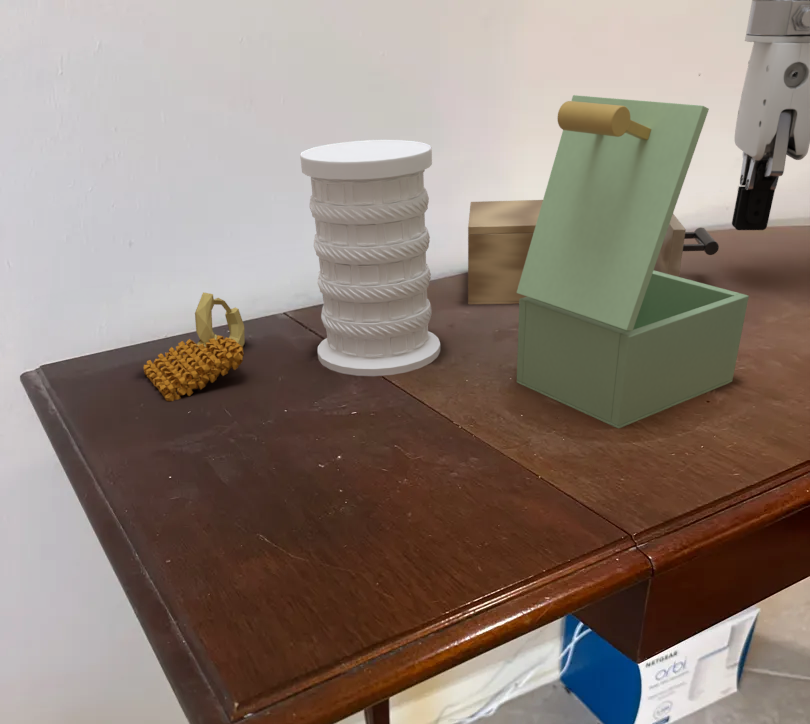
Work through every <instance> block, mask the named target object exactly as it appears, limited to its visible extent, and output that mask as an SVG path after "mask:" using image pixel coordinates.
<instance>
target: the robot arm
mask: <svg viewBox="0 0 810 724" xmlns="http://www.w3.org/2000/svg"><path fill="white" fill-rule="evenodd" d="M744 42H747V43H753V45H752V49H751V52H750V56H749V60H748V63H747V69H746V73H745V78H744V82H743V86H742V91H741V95H740V101H739V105H738V111H737V117H736V122H735V129H734V144H735V146H736V147H737V148H738V149H739V150H741V152H742V164H741V165H742V166H741V170H740V177H739V186H738V189H737V194H736V199H735V204H734V210H733V214H732V220H731V226H732V227H733V228H734V229H735V230H736V231H764V230H766V229H767V228H768V224H769V220H770V214H771V211H772V206H773V201H774V196H775V191H776V188H777V186H778V183H779V178H780V177H782V176H784V173H785V167H786V160H787V156H788V157H789V158H791V159H793V160H795V161H802V160H803V159H804V158H805V157H806V156H807V155H808V152H809V149H810V0H751V3H750V9H749V15H748V19H747V26H746V32H745V36H744Z"/></svg>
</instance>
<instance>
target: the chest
mask: <svg viewBox="0 0 810 724" xmlns="http://www.w3.org/2000/svg"><path fill="white" fill-rule="evenodd" d="M749 297H750V296H749V294H748V295H747V294H745V293H740V292H737V291H733V290H729V289H725V288H722V287H718V286H714V285H711V284H707V283H703V282H700V281H695V280H692V279H687V278H684V277H680V276H679V277H677V276H673V275H669V274H666V273H662V272H658V271H654V270H653V273H652V276H651V279H650V282H649V285H648V287H647V290H646V293H645V296H644V299H643V302H642V305H641V308H640V311H639V314H638V316H637V319H636V322H635V325H634V328H633V331H627V330H624V329H621V328H618V327H615V326H612V325H609V324H606V323H603V322H600V321H597V320H594V319H591V318H588V317H585V316H582V315H580V314H577V313H574V312H571V311H568V310H565V309H562V308H559V307H556V306H553V305H550V304H547V303H544V302H541V301H538V300H535V299H533V298H530V297H524V298H521V299H519V304H518V328H517V329H518V331H517V356H516V357H517V358H516V383H517V384H519V385H521V386H524V387H525V388H528V389H530V390H532V391H535V392H537V393H539V394H541V395H543V396H546V397H548V398H550V399H552V400H555V401H556V402H559V403H561V404H564V406H565V405H566V406H567V407H570V408H572V409H574V410H576V411H579V412H581V413H583V414H585V415H587V416H590V417H592V418H594V419H596V420H598V421H601V422H603V423H605V424H607V425H609V426H611V427H614V428H616V429H621V428H624V427H626V426H628V425H631V424H633V423H635V422H638V421H640V420H643V419H645V418H648V417H651V416H653V415H655V414H658V413H660V412H663V411H665V410H667V409H670V408H673V407H675V406H677V405H679V404H682V403H684V402H686V401H689V400H691V399H694V398H697V397H698V396H701V395H704V394H706V393H708V392H711V391H713V390H715V389H718V388H720V387H723V386H725V385H728V384H730V383H732V382H733V379H734V374H735V369H736V364H737V360H738V353H739V348H740V345H741V344H740V343H741V340H742V339H741V338H742V333H743V330H744V329H743V328H744V323H745V317H746V314H747V313H746V312H747V308H748V302H749Z"/></svg>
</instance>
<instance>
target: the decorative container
mask: <svg viewBox="0 0 810 724" xmlns="http://www.w3.org/2000/svg"><path fill="white" fill-rule="evenodd" d="M432 149H433V148H432V146H431V144H428V143H427V142H423V141H417V140H407V139H366V140H365V139H364V140H352V141H342V142H334V143H328V144H322V145H318V146H314V147H310V148H308V149H305V150H303V151H301V152H300V164H301V165H300V166H301V173H302V174H304V175H305V176H307V177H310V185H311V193H312V194H311V196H310V199H309V209H310V213H311V216H312V218H314V222H315V223H314V225H315V234H314V240H313V248H314V251H315V254H316V256H317V257H318V263H319V271H318V275H317V286H318V288H319V292H320V293H321V294H322V301H323V305H322V306H321V314H320V318H321V319H320V320H321V322H322V324H323V327H324V328H325V331H326V337H325V338H324V339H323V340H322V341H320V343H319V345H318V346H317V359H318V361H319V362H320V364H321V365H322V366H323V367H324V368H326V369H329V370H330V371H332V372H336V373H338V374H344V375H350V376H356V377H381V376H393V375H399V374H404V373H409V372H412V371H415V370H418V369H419V370H420V369H421V368H423V367H425V366H427V365H429V364H431V363H432V362H434V361H436V359H438V357H439V355H440V353H441V342H440V338H439V337H438V336H437V335H436V334H435V333H433V332H431V331H429V323H430V321H431V319H432V317H431V316H432V314H433V313H432V311H433V308H432V304H431V302H430V299H429V298H428V288H429V286H430V284H431V280H432V279H431V277H432V274H431V270H430V267H429V264H428V263H427V251H428V249H429V248H430V241H431V240H430V239H431V237H430V233H429V229H428V228H427V227H428V226H426V219H425V218H426V216H425V215H426V214H425V213H426V212H427V210H428V206H429V199H430V198H429V194H428V190H427V189H426V188H425V184H424V183H425V182H424V181H425V179H424V173H425V170H427V169H429V168H430V167H432V165H433V150H432Z"/></svg>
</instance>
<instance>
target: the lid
mask: <svg viewBox="0 0 810 724" xmlns="http://www.w3.org/2000/svg"><path fill="white" fill-rule="evenodd" d="M709 109H710V108H709V107H707V106H705V105H698V104H688V103H687V104H686V103H675V102H674V103H673V102H661V101H651V100H650V101H649V100H637V99H625V98H614V97H613V98H612V97H602V96H601V97H600V96H590V95H589V96H588V95H577V94H576V95H575V94H574V95H572V98H571V100H566V101H565V102H563V103H562V105H561V106H560V107H559V109H558V112H557V124H558V127H559V128H560V129H561V130H562V133H561V136H560V140H559V144H558V147H557V150H556V153H555V156H554V161H553V164H552V167H551V171H550V174H549V178H548V181H547V185H546V188H545V192H544V195H543V199H542V200H543V202H542V205H541V209H540V212H539V216H538V219H537V223H536V226H535V230H534V233H533V237H532V240H531V244H530V247H529V251H528V254H527V258H526V261H525V265H524V268H523V272H522V275H521V279H520V282H519V286H518V289H517V293H518V294H521V295H524V296H527V297H530V298H533V299H535V300H538V301H541V302H544V303H547V304H550V305H553V306H556V307H559V308H562V309H565V310H568V311H571V312H574V313H577V314H580V315H582V316H585V317H588V318H591V319H594V320H597V321H600V322H603V323H606V324H609V325H612V326H615V327H618V328H621V329H624V330H627V331H633V328H634V325H635V322H636V319H637V316H638V314H639V311H640V308H641V305H642V302H643V299H644V296H645V293H646V290H647V287H648V285H649V282H650V279H651V276H652V273H653V270H654V267H655V264H656V261H657V258H658V255H659V253H660V250H661V247H662V244H663V241H664V238H665V235H666V232H667V229H668V226H669V224H670V221H671V218H672V215H673V214H674V211H675V209H676V205H677V204H678V200H679V198H680V195H681V192H682V189H683V186H684V183H685V180H686V177H687V174H688V171H689V168H690V166H691V162H692V160H693V156H694V153H695V151H696V148H697V145H698V143H699V139H700V136H701V134H702V131H703V128H704V126H705V122H706V119H707V116H708V113H709Z"/></svg>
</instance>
